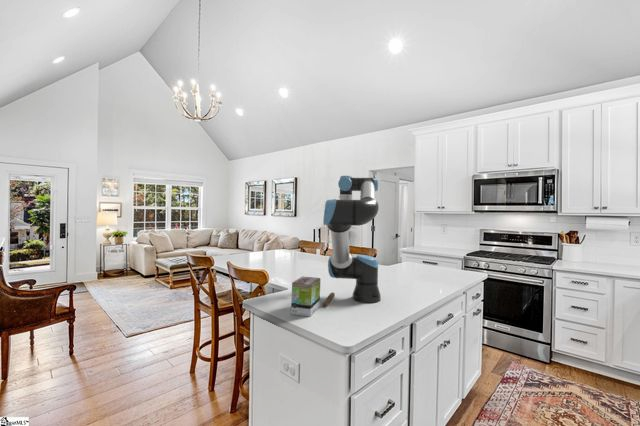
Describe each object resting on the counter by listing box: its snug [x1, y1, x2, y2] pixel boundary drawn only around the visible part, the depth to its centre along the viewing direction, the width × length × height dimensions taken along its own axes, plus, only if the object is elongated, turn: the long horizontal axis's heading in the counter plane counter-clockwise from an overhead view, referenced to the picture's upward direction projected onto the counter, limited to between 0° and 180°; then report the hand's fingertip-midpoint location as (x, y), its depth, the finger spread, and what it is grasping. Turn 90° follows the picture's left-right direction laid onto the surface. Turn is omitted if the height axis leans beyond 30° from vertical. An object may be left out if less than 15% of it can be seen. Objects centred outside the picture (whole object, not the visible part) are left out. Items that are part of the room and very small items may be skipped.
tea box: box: [290, 275, 321, 317], centre depth 146 cm, size 15×10×15 cm, turn 165°
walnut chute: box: [322, 292, 336, 309], centre depth 162 cm, size 17×20×2 cm
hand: (344, 240), depth 184 cm, fingers closed
